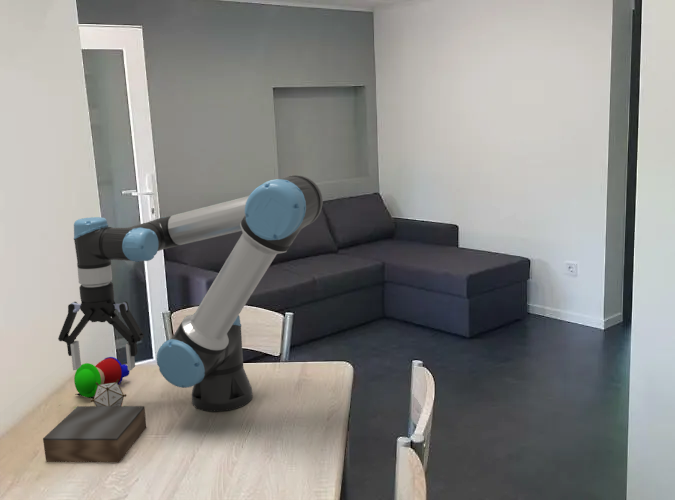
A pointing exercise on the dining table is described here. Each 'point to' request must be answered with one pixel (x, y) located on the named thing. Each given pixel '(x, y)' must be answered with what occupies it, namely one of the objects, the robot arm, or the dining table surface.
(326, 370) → the dining table surface
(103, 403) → the game die
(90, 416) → the dark gray square base
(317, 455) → the dining table surface
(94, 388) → the toy figure
